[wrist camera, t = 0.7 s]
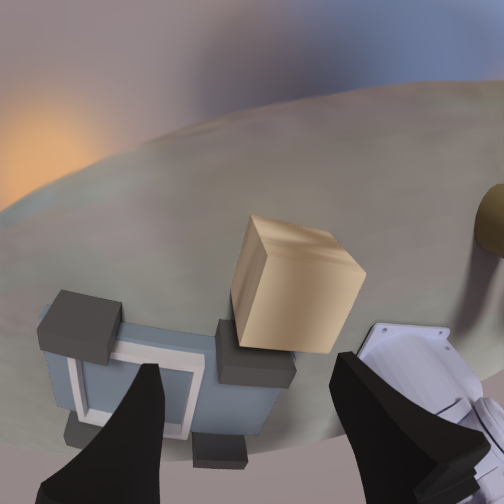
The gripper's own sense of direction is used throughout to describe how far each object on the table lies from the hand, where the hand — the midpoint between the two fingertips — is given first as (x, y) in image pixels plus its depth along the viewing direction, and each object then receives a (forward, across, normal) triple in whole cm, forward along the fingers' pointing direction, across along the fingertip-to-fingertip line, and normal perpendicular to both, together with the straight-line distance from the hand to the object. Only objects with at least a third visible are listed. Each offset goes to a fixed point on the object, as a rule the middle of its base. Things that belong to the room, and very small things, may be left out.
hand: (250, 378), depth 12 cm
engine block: (+9, -3, -1) cm, 9 cm away
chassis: (+9, +6, +9) cm, 14 cm away
